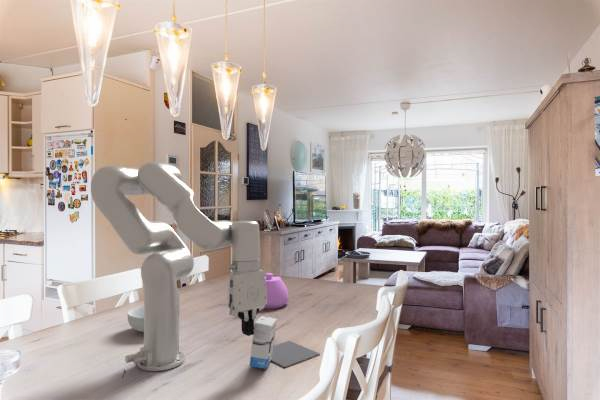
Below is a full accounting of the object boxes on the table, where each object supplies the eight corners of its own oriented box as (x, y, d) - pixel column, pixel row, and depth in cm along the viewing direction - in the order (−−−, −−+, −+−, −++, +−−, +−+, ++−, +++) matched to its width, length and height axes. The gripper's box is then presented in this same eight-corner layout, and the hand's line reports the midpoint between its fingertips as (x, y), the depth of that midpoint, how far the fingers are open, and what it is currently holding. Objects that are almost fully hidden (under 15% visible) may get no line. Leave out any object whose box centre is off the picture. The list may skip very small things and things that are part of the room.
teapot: (265, 296, 187) (266, 267, 187) (298, 301, 179) (298, 271, 179) (234, 308, 165) (234, 276, 164) (269, 315, 156) (269, 281, 156)
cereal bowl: (123, 340, 127) (123, 319, 127) (131, 324, 143) (131, 305, 143) (177, 336, 131) (178, 315, 131) (179, 321, 147) (179, 302, 147)
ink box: (266, 369, 105) (271, 325, 105) (248, 366, 105) (254, 322, 106) (272, 358, 113) (277, 318, 113) (256, 355, 114) (261, 315, 114)
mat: (284, 368, 107) (284, 366, 107) (254, 352, 118) (254, 351, 118) (319, 354, 117) (319, 353, 117) (289, 341, 127) (289, 340, 127)
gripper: (229, 271, 97) (231, 345, 97) (276, 264, 107) (278, 330, 107) (214, 268, 103) (216, 337, 103) (260, 261, 113) (262, 324, 113)
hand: (248, 333), depth 105 cm, fingers closed
